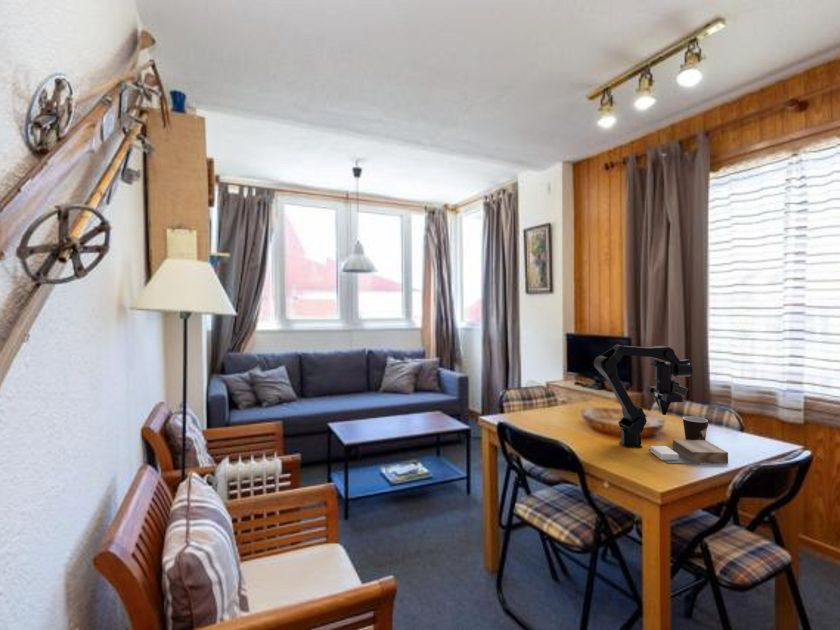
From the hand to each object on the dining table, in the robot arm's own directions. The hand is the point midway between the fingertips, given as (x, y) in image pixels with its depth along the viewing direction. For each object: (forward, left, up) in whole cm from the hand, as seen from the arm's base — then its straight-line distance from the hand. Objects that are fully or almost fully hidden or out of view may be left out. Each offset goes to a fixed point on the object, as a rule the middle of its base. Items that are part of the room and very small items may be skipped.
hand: (664, 414), depth 172 cm
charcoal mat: (-3, -15, -12) cm, 19 cm away
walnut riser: (+6, -14, -12) cm, 19 cm away
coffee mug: (+14, +1, -12) cm, 19 cm away
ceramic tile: (-7, -14, -10) cm, 19 cm away
